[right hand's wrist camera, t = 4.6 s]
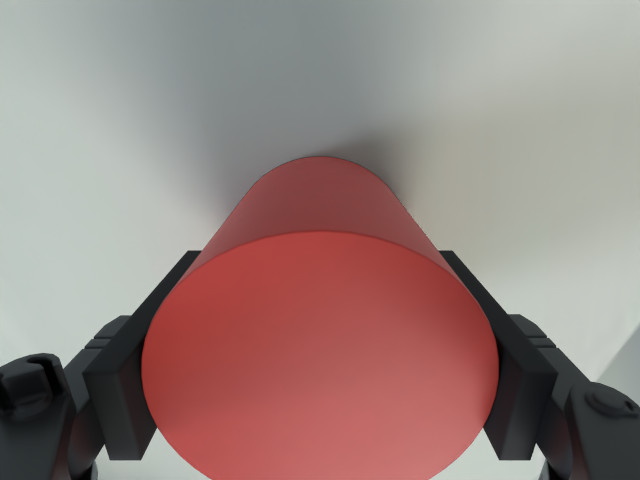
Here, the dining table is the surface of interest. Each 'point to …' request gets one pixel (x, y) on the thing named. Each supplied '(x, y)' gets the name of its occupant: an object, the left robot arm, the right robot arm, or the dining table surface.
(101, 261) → the dining table surface
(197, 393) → the canister
